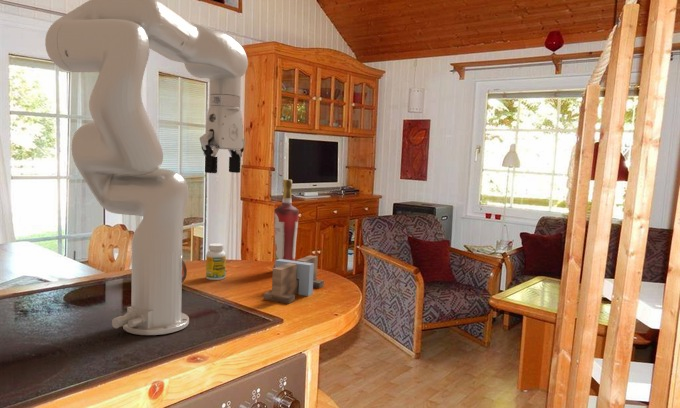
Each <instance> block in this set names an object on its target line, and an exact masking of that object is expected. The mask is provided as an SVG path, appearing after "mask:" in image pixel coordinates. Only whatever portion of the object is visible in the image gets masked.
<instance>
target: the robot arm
mask: <svg viewBox="0 0 680 408" xmlns="http://www.w3.org/2000/svg"><path fill="white" fill-rule="evenodd" d="M44 43H45V45H44V46H45V50H46V53H47V56H48V58H49V59H50V60H51V61H52V62H53V64H54V65H55V66H57V67H58V68H60V69H62V70H64V71H68V72H71V73H98V76H97V78H96V81H95V83H94V85H93V88H92V90H91V93H90V97H89V100H88V107H89V113H90V115H91V118H92V120H93V122H89V123H86V124H83V125H81V126H80V127H79V128H78V129H76V131H75V132H74V134H73V137H72V140H71V153H72V154H71V155H72V156H71V157H72V158H73V162H74V164H75V166H76V169H77V170H78V173H80V176H81V177H82V178H83V180H84V182H85V183H86V185H87V186H88V189H89V190H90V191H91V193H92V194H93V196H94V198H95V199H96V201H97V202H98V204H99V205H100V206H101V207H102V208H103V209H104V210H106V211H107V212H109V213H111V214H116V215H117V214H118V215H125V216H127V215H128V216H139V217H142V220H141V221H140V223H139V224H138V226H137V227H136V229H135V231H134V232H133V235H132V239H131V296H130V297H131V299H130V300H131V305H130V306H127V310H126V311H127V312H125V313H124V315H120V316H117V317H114V318H113V319H112V320H111V326H112V327H113V328H114V329H119V328H121V327H122V328H123V330H124V331H125V332H127V333H130V334H133V335H139V336H157V335H168V334H171V333H176V332H179V331H181V330H183V329H185V328H187V326H188V325H189V323H190V317H189V316H188V314H186V313H184V312H182V293H183V292H182V286H183V285H182V284H183V283H182V260H183V235H184V234H183V233H184V232H183V230H184V221H185V214H186V209H187V204H188V199H189V186H188V185H189V184H188V182H187V180H186V178H185V177H183V176H182V175H181V173H178V172H176V171H174V170H171V169H166V168H165V169H164V168H160V167H161V166H162V164H163V161H164V153H163V148H162V145H161V142H160V140H159V138H158V136H157V133H156V132H155V129H154V127H153V125H152V122H151V120H150V118H149V116H148V113H147V111H146V109H145V105H144V103H143V100H142V85H143V80H144V76H145V72H146V68H147V64H148V61H149V57H150V50H151V51H153V52H156V53H158V54H159V55H161V56H162V57H164V58H167V59H168V60H170V61H172V62H177V63H183V64H184V67H185V69H186V71H187V72H188V73H189V74H190V75H191V76H192V77H195V78H197V79H207V80H208V79H209V89H208V90H209V94H208V96H209V98H208V102H209V103H208V104H209V105H208V109H207V110H208V111H207V117H206V124H205V125H206V126H205V133H204V134H203V135H201V136H200V137H199V143H200V144H201V150H202V152H203V156H204V157H205V158H204V173H207V174H217V173H218V156H216V155H217V154H218V151H219V150H227V151H228V152H229V155H230V156H229V157H228V172H229V173H234V174H235V173H237V174H238V173H241V166H242V165H241V163H242V162H241V161H242V160H241V158H242V157H243V152H244V151H245V150H244V148H245V145H246V140H245V139H244V124H243V114H242V111H241V85H242V82H241V81H242V77H244V76H245V74H246V72H247V70H248V66H249V61H248V56H247V53H246V51H245V49H244V47H243V46H242V45H241V44H240V43H239V42H238V41H236V40H235V39H234V38H233V37H231V36H229V35H227V34H226V33H223V32H222V31H221V32H220V31H217V30H214V29H212V28H209V27H205V26H203V25H199V24H196V23H193V22H190V21H188V20H186V19H184V18H183V17H182V16H180V15H179V14H178V13H177V12H175V11H174V10H172V9H171V8H169V7H168V6H167V5H165V3H162V2H161V1H160V0H87V1H85V2H84V3H82V4H81V5H79V6H77V7H76V8H74V9H73V10H70V11H69V12H67V13H66V14H64V15H63V16H61V17H60V18H58V19H56V20H55V21H53V23H52V24H51V25H50V26H49V28H48V30H47V31H46V34H45V42H44Z"/></svg>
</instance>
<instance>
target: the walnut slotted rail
mask: <svg viewBox="0 0 680 408" xmlns="http://www.w3.org/2000/svg"><path fill="white" fill-rule="evenodd" d="M318 257H319V256H318V255H309V254H308V255H307V256H305V257H301V258H299V259H295V261H299V262H306V263H314V274H313V289H315V288H316V289H321V288H323V287H324V286H325V280H324V279H323V280H322V279H318ZM271 276H272V278H271V279H272V281H271V290H269V291H266V292H264V293H263V300H264V301H271V302H274V303H281V304H286V305H290V304H291V303H294V302H295V301H296V299H295V298H296V295H298V292H299V279H296V276H297V264H293V263H287V264H284V265H282V266H279V267H276V268H274V267H272V275H271Z"/></svg>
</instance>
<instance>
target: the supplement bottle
mask: <svg viewBox="0 0 680 408" xmlns="http://www.w3.org/2000/svg"><path fill="white" fill-rule="evenodd" d="M224 247H225V246H224V244H223V243H218V242H217V243H209V244H208V250H209V251H207V252H206V258H205V260H206V262H205V269H206V270H205V278H206V280H210V281H221V280H224V279H226V267H227V266H226V263H227V261H226V260H227V258H226V257H227V255H226V252H225V251H224Z"/></svg>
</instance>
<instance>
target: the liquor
mask: <svg viewBox="0 0 680 408" xmlns="http://www.w3.org/2000/svg"><path fill="white" fill-rule="evenodd" d="M282 180H283V181H282V188H283V193H282V202H281V205H279V206H277V207H275V209H274V261H275V260H278V259H284V260H292V261H296V249H297V248H296V247H297V236H298V228H299V216H300V215H299V213H300V210H299V209H298V208H297V207H296V206H294V205H293V204H292V188H293V180H292V179H284V178H283V179H282ZM273 268H275V264H274V265H273Z"/></svg>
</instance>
